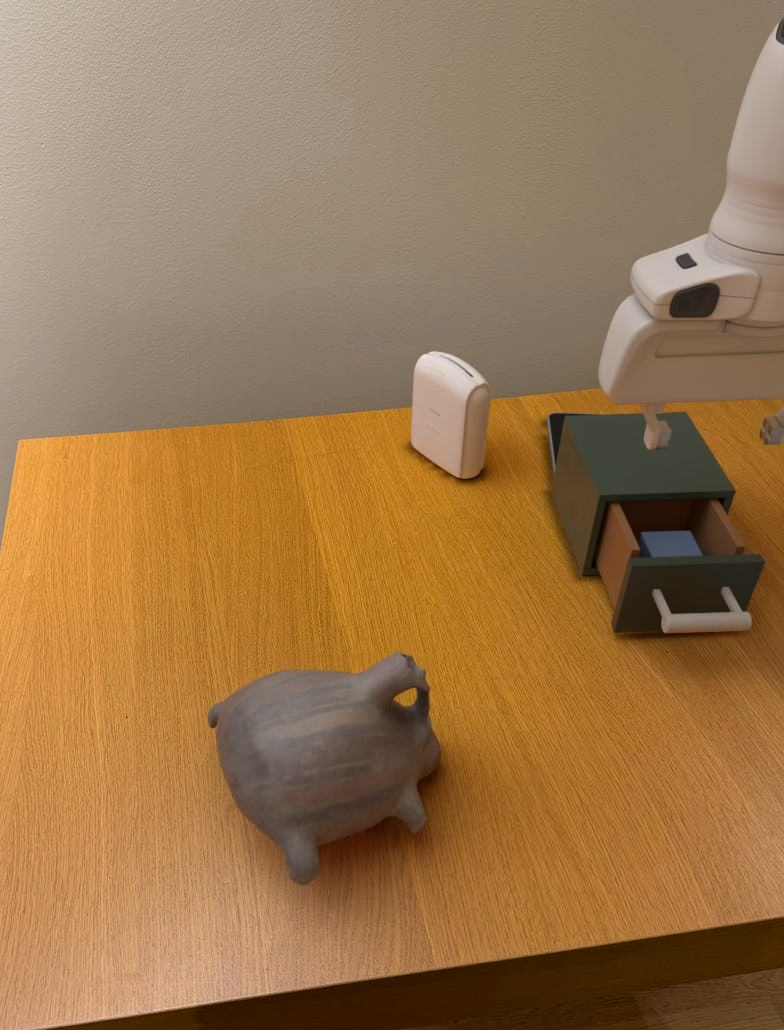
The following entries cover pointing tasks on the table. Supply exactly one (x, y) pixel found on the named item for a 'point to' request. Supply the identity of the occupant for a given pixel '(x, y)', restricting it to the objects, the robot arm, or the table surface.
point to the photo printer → (450, 413)
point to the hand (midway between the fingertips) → (712, 443)
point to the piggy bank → (326, 754)
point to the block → (668, 544)
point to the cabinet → (627, 472)
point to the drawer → (676, 568)
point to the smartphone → (557, 432)
